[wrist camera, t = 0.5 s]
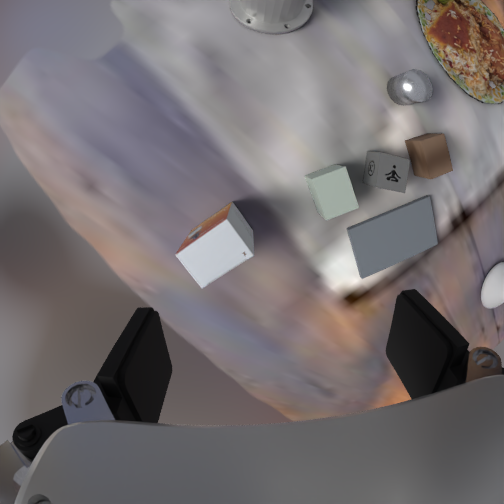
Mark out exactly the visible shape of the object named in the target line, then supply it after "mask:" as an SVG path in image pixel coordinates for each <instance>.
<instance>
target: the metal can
mask: <svg viewBox="0 0 504 504" xmlns="http://www.w3.org/2000/svg"><path fill="white" fill-rule="evenodd" d="M387 91H388V94H389V96H390V98H391V99H392V100H393V101H394V102H395V103H397V104H399V105H409V104H414V103H419V102H424V101H427V100H429V99H430V98H431V96H432V93H433V87H432V83H431V81H430V79H429V78H428V76H427V75H426V74H425V73H424V72H422V71H420V70H417V69H413V70H410V71H407V72H405V73H402V74H400V75H397V76H395V77H392V78H391V79H390V80H389V81H388V84H387Z"/></svg>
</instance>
